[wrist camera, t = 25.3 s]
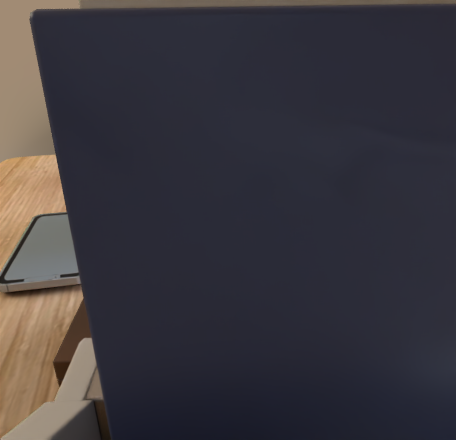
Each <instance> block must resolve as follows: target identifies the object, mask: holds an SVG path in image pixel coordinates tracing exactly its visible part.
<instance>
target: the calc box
mask: <svg viewBox="0 0 456 440" xmlns="http://www.w3.org/2000/svg"><path fill="white" fill-rule="evenodd" d="M79 5H80V9H37V10H35V11H33V12H31V13H30V24H31V29H32V35H33V40H34V45H35V50H36V55H37V60H38V66H39V70H40V76H41V81H42V86H43V91H44V96H45V102H46V107H47V112H48V117H49V122H50V127H51V133H52V137H53V143H54V148H55V153H56V158H57V163H58V169H59V174H60V179H61V184H62V189H63V194H64V199H65V205H66V210H67V215H68V220H69V225H70V230H71V236H72V241H73V246H74V251H75V256H76V261H77V266H78V272H79V277H80V282H81V287H82V292H83V297H84V302H85V308H86V313H87V318H88V323H89V328H90V333H91V339H92V344H93V349H94V354H95V359H96V364H97V369H98V375H99V380H100V385H101V390H102V395H103V400H104V405H105V411H106V416H107V421H108V426H109V431H110V436H111V440H456V0H79Z"/></svg>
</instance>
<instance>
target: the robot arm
mask: <svg viewBox="0 0 456 440" xmlns="http://www.w3.org/2000/svg"><path fill="white" fill-rule="evenodd" d="M0 440H111V436H110V431H109V426H108V421H107V416H106V411H105V405H104V400H103V395H102V390H101V385H100V380H99V375H98V369H97V364H96V359H95V354H94V349H93V344H92V339H91V338H84V339H83V340H82V341H81V342H80V343H79V344H78V347H77V349H76V351H75V354H74V356H73V358H72V361H71V363H70V365H69V368H68V370H67V372H66V375H65V377H64V379H63V381H62V384H61V386H60V388H59V391H58V393H57V395H56V398H55V400H54V402H45V403H44V404H43V405H42V406H40V407H39V408H38V409H37V410H35V411H34V412H33V413H32V414H30V415H29V416H28V417H27V418H25V419H24V420H23V421H22V422H20V423H19V424H18V425H17V426H15V427H14V428H13V429H12V430H10V431H9V432H8V433H7V434H5V435H4V436H3V437H2V438H1V439H0Z"/></svg>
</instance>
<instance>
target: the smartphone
mask: <svg viewBox="0 0 456 440" xmlns="http://www.w3.org/2000/svg"><path fill="white" fill-rule="evenodd" d="M80 283H81V282H80V277H79V272H78V266H77V261H76V256H75V251H74V246H73V241H72V236H71V230H70V225H69V220H68V215H67V212H61V213H48V214H40V215H37V216H35V217H33V218H32V220H31V222H30V223H29V225H28V227H27V228H26V230H25V232H24V233H23V235H22V237H21V238H20V240H19V242H18V243H17V245H16V247H15V248H14V250H13V252H12V253H11V255H10V257H9V258H8V260H7V262H6V263H5V265H4V267H3V268H2V270H1V272H0V292H13V291H22V290H30V289H39V288H48V287H57V286H66V285H74V284H80Z"/></svg>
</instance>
